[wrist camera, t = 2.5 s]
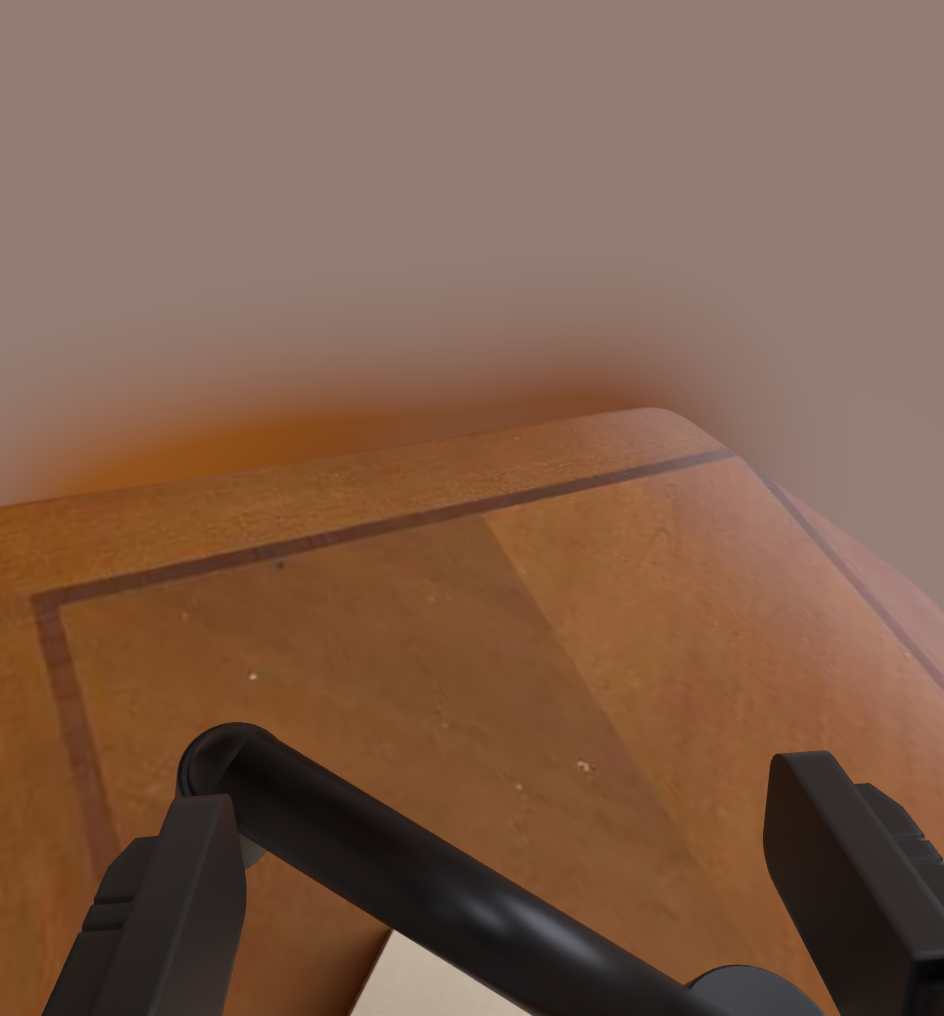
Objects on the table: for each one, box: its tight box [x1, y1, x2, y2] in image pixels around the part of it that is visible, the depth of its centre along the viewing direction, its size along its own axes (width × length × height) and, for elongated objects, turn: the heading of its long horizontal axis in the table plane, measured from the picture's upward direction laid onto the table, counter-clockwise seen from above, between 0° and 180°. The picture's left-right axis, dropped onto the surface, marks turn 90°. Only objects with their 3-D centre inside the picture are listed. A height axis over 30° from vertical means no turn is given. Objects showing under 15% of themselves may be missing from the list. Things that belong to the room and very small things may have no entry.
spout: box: [175, 722, 825, 1016], centre depth 19 cm, size 16×4×5 cm, turn 65°
